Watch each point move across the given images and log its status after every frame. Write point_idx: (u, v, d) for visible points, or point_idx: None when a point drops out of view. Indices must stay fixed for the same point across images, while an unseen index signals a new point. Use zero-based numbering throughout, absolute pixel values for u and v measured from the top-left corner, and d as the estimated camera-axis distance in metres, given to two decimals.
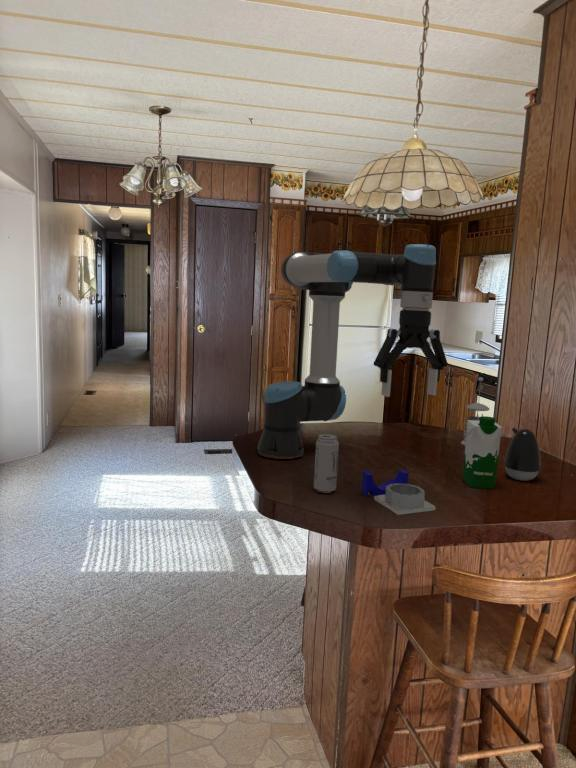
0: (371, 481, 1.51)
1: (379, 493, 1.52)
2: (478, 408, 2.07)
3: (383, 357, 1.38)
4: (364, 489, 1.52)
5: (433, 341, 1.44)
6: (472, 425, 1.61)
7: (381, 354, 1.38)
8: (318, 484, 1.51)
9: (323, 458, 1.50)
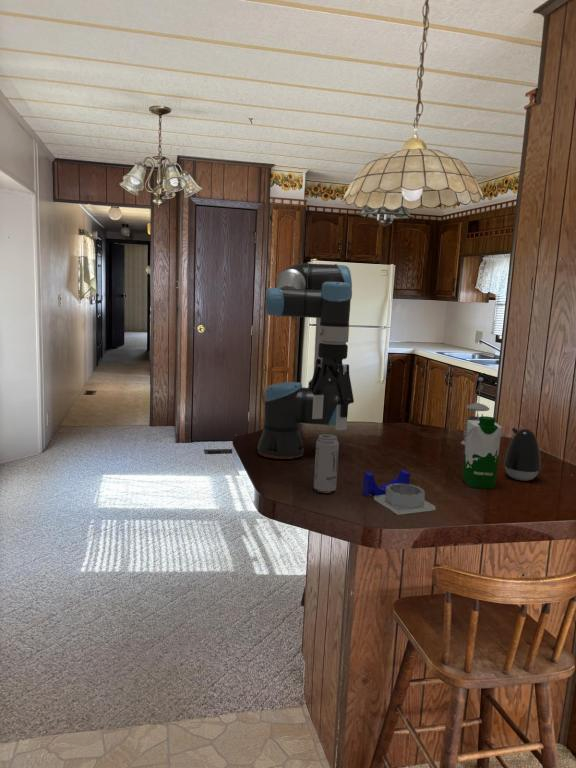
0: (372, 482, 1.50)
1: (380, 494, 1.52)
2: (478, 408, 2.07)
3: (311, 382, 1.57)
4: (365, 490, 1.52)
5: None
6: (472, 425, 1.61)
7: None
8: (318, 484, 1.51)
9: (323, 458, 1.50)
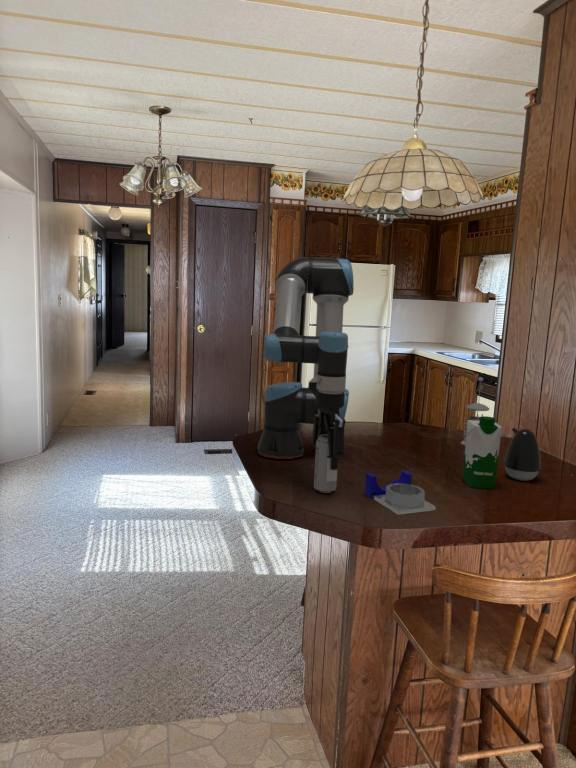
0: (375, 483, 1.50)
1: None
2: (478, 408, 2.07)
3: (313, 436, 1.57)
4: (367, 491, 1.51)
5: None
6: (472, 425, 1.61)
7: None
8: (319, 484, 1.51)
9: (323, 458, 1.50)
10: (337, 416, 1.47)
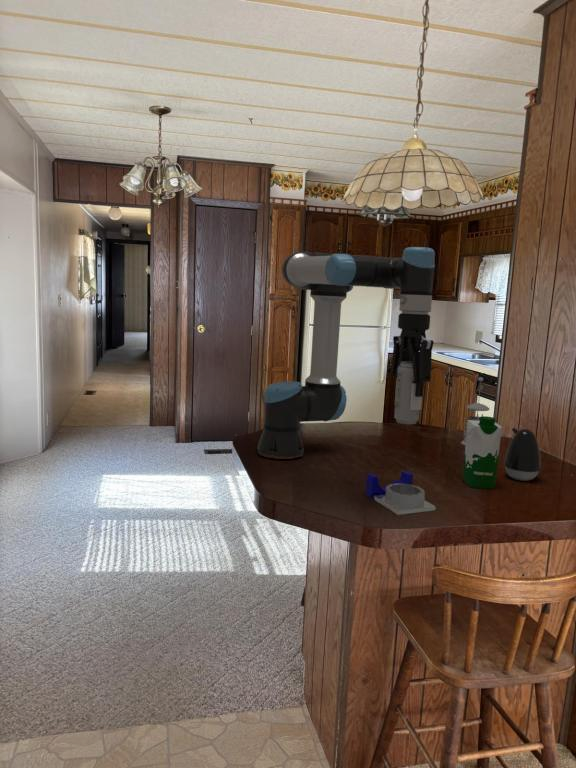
0: (376, 483, 1.49)
1: None
2: (478, 408, 2.07)
3: (392, 365, 1.46)
4: (369, 492, 1.50)
5: None
6: (472, 425, 1.61)
7: None
8: (401, 413, 1.40)
9: (407, 385, 1.39)
10: (424, 338, 1.36)
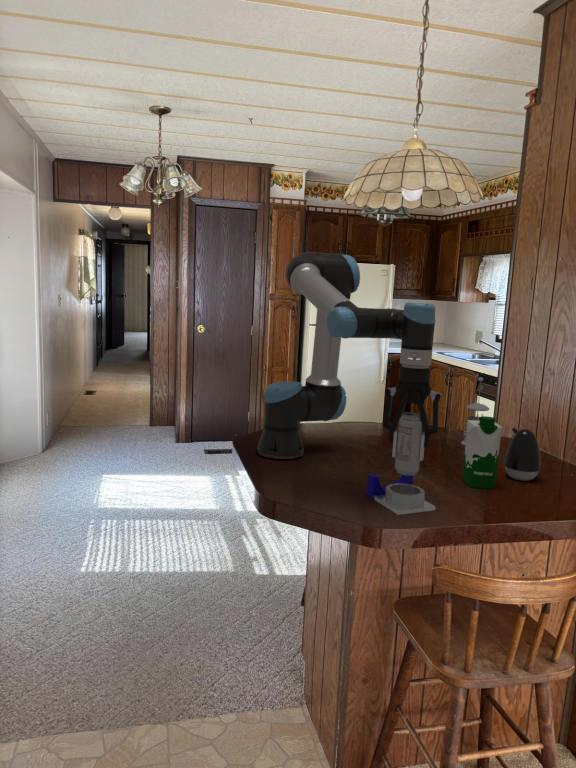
0: (377, 484, 1.49)
1: None
2: (478, 408, 2.07)
3: (385, 418, 1.44)
4: (370, 492, 1.50)
5: None
6: (472, 425, 1.61)
7: None
8: (412, 466, 1.41)
9: (417, 437, 1.41)
10: (431, 390, 1.40)
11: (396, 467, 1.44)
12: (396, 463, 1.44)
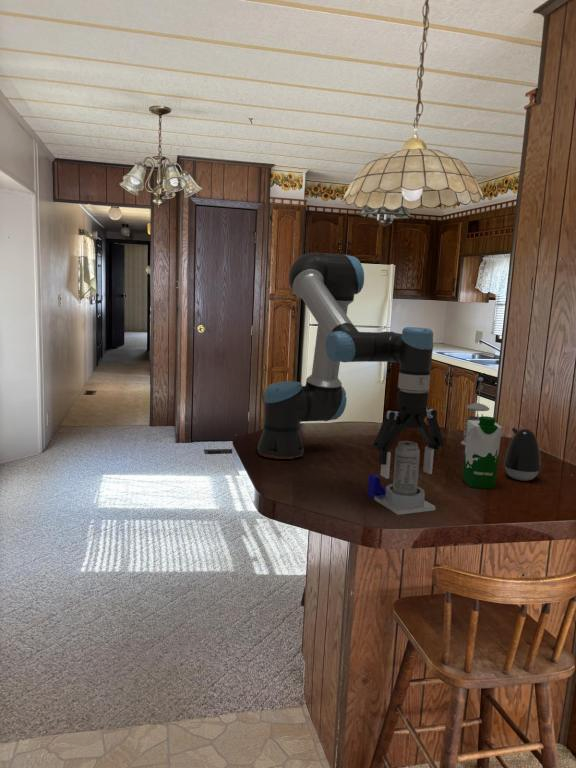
0: (378, 484, 1.49)
1: None
2: (478, 408, 2.07)
3: (382, 440, 1.39)
4: (371, 493, 1.50)
5: (430, 420, 1.45)
6: (472, 425, 1.61)
7: (380, 437, 1.40)
8: (415, 493, 1.44)
9: (418, 465, 1.44)
10: (425, 410, 1.44)
11: None
12: None
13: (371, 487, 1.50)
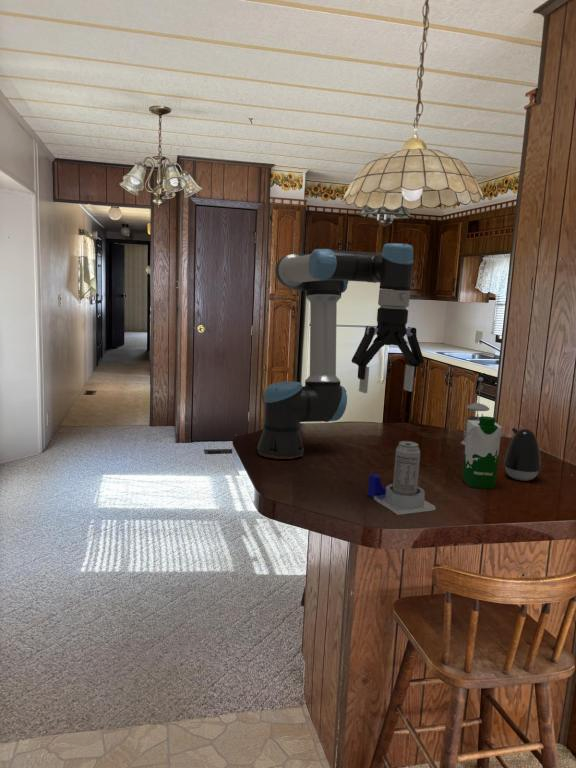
0: (379, 484, 1.49)
1: None
2: (478, 408, 2.07)
3: (361, 354, 1.40)
4: (371, 493, 1.50)
5: (410, 338, 1.47)
6: (472, 425, 1.61)
7: (359, 351, 1.41)
8: None
9: None
10: (405, 328, 1.46)
11: None
12: None
13: (371, 487, 1.50)
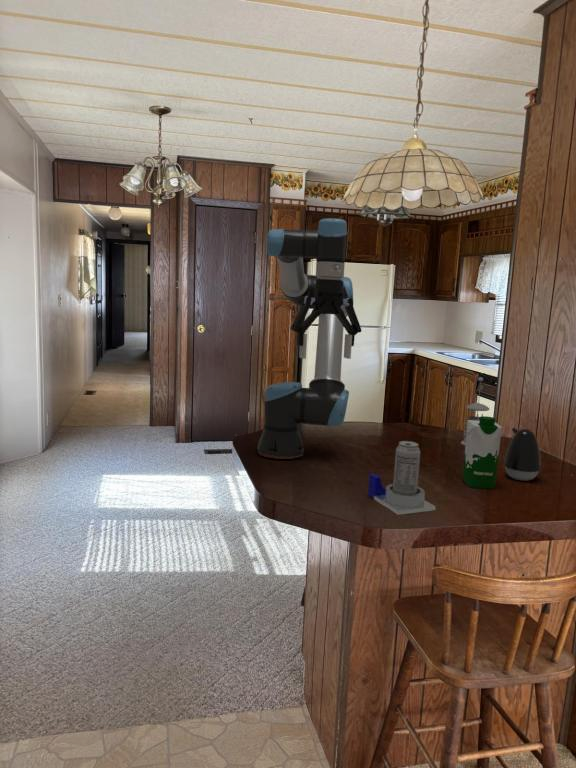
0: (379, 484, 1.49)
1: None
2: (478, 408, 2.07)
3: (298, 322, 1.50)
4: (371, 493, 1.50)
5: (347, 308, 1.57)
6: (472, 425, 1.61)
7: (297, 319, 1.51)
8: None
9: None
10: (342, 299, 1.56)
11: None
12: None
13: (372, 487, 1.50)
